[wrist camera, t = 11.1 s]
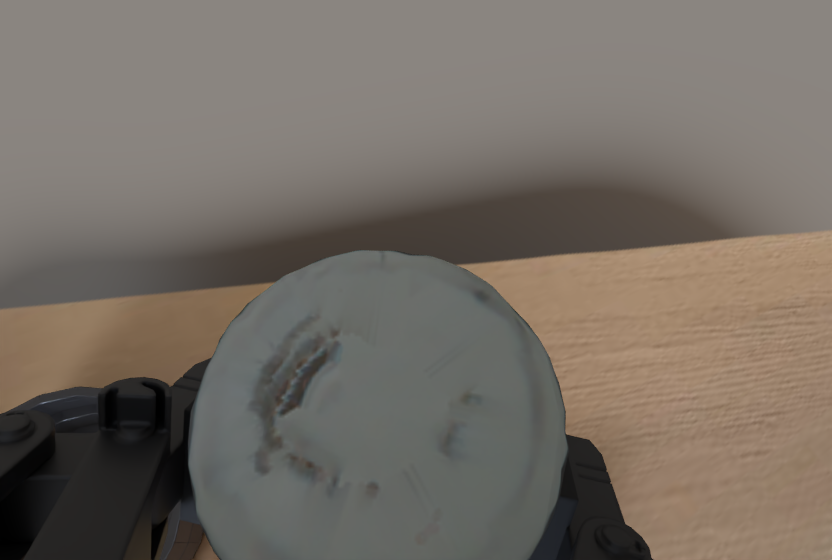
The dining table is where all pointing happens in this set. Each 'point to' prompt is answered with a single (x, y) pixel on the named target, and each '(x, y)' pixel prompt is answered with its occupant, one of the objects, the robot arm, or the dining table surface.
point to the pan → (80, 415)
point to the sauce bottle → (377, 419)
